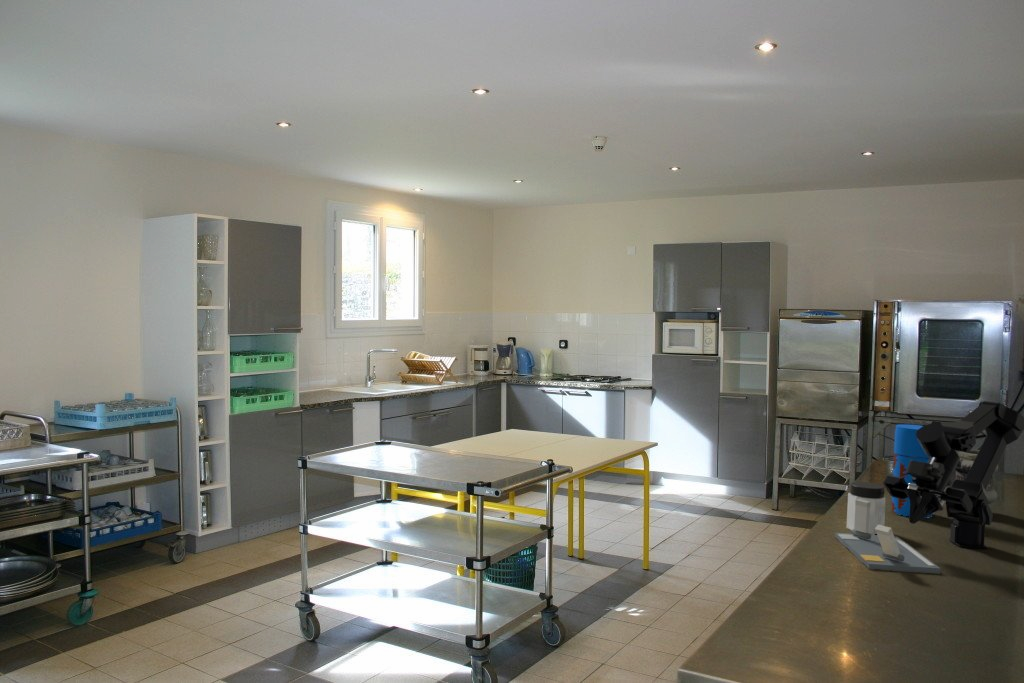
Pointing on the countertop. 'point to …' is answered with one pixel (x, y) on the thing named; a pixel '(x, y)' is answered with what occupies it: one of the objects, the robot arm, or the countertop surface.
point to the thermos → (906, 461)
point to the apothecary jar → (966, 464)
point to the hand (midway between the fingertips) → (911, 522)
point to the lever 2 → (888, 543)
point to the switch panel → (873, 558)
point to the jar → (877, 506)
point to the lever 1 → (862, 519)
